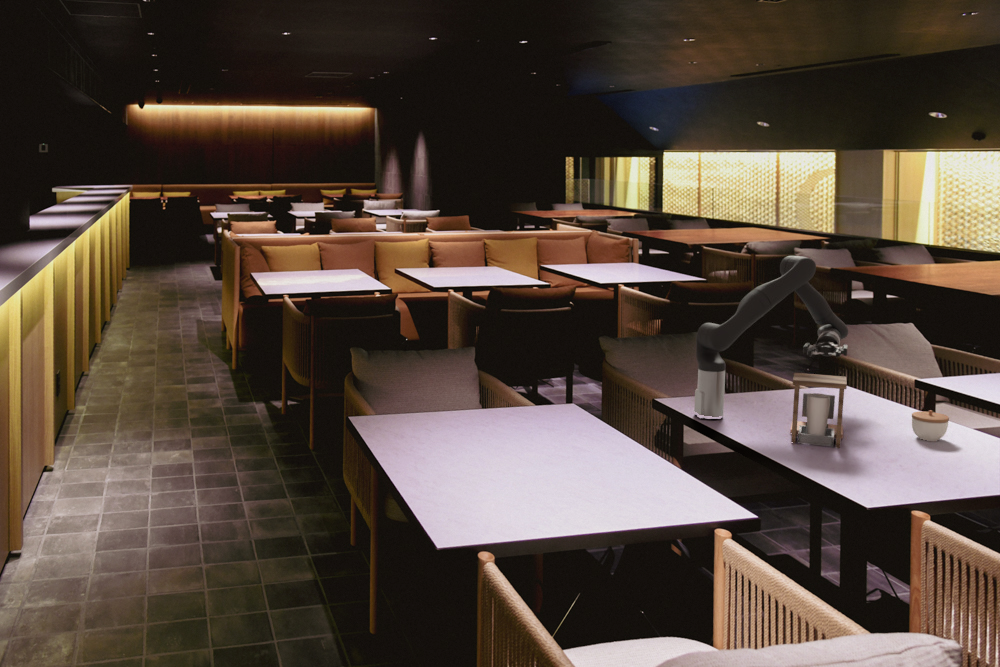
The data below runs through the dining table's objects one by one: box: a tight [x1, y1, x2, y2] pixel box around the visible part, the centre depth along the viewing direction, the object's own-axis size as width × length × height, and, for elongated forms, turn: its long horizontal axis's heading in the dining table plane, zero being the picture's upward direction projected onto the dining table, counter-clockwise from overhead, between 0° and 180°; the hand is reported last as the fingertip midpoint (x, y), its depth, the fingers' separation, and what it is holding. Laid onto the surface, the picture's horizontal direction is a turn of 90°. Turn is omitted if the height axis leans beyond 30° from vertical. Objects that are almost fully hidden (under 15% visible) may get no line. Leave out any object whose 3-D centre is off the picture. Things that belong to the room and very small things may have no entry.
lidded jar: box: [911, 409, 950, 442], centre depth 277 cm, size 11×11×9 cm
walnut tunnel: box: [790, 372, 848, 449], centre depth 272 cm, size 12×16×21 cm
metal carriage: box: [797, 392, 836, 448], centre depth 280 cm, size 26×11×11 cm, turn 159°
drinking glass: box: [806, 392, 830, 436], centre depth 273 cm, size 7×7×15 cm
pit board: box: [789, 420, 844, 440], centre depth 285 cm, size 12×16×2 cm
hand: (823, 354), depth 293 cm, fingers open, 8 cm apart
